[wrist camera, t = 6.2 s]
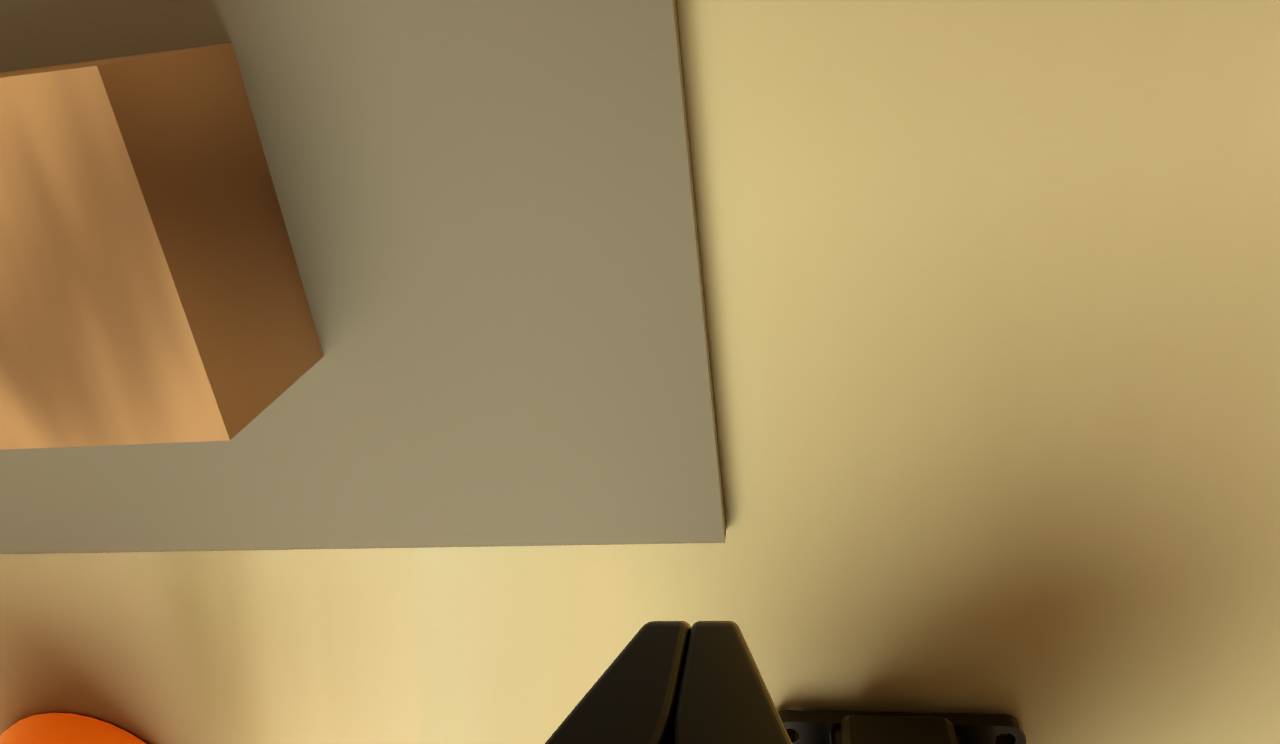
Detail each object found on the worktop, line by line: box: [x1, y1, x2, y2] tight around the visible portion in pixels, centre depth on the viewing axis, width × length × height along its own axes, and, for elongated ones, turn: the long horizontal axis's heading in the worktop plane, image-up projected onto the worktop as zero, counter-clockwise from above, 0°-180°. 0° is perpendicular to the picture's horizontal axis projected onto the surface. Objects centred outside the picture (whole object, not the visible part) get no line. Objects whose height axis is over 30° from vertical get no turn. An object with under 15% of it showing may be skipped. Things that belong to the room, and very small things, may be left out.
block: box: [0, 43, 324, 450], centre depth 18 cm, size 7×4×9 cm
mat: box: [0, 0, 726, 554], centre depth 20 cm, size 18×22×1 cm
